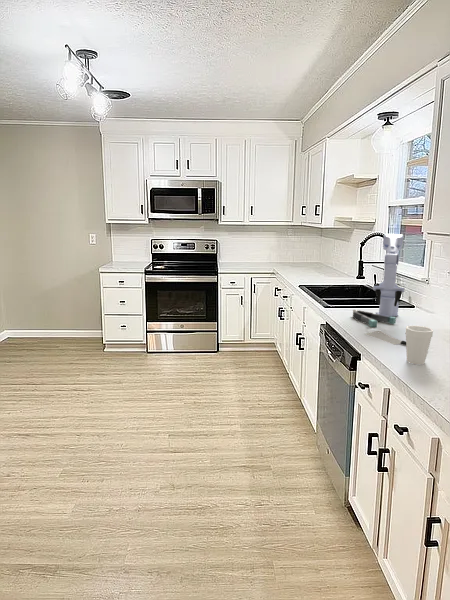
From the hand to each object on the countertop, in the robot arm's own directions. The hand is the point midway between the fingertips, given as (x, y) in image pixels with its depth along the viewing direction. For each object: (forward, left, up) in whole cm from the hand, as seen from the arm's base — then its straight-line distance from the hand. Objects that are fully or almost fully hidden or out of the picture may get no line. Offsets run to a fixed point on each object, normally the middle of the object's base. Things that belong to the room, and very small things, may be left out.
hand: (387, 305), depth 229 cm
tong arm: (0, -10, -10) cm, 14 cm away
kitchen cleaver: (+14, +28, -11) cm, 33 cm away
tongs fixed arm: (+8, -6, -10) cm, 14 cm away
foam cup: (+22, +53, -10) cm, 58 cm away
